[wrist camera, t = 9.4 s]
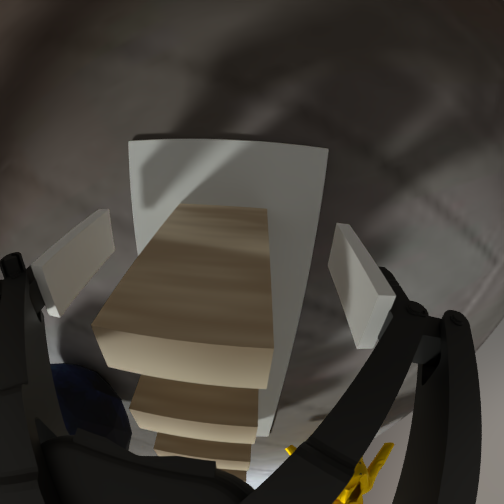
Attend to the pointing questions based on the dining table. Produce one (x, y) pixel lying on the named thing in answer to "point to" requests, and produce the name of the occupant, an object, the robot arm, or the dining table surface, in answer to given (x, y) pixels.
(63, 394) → the decorative orb
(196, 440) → the tile
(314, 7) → the dining table surface
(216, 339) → the tile
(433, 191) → the dining table surface
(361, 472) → the figure statuette
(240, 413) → the tile
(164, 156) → the runner mat
